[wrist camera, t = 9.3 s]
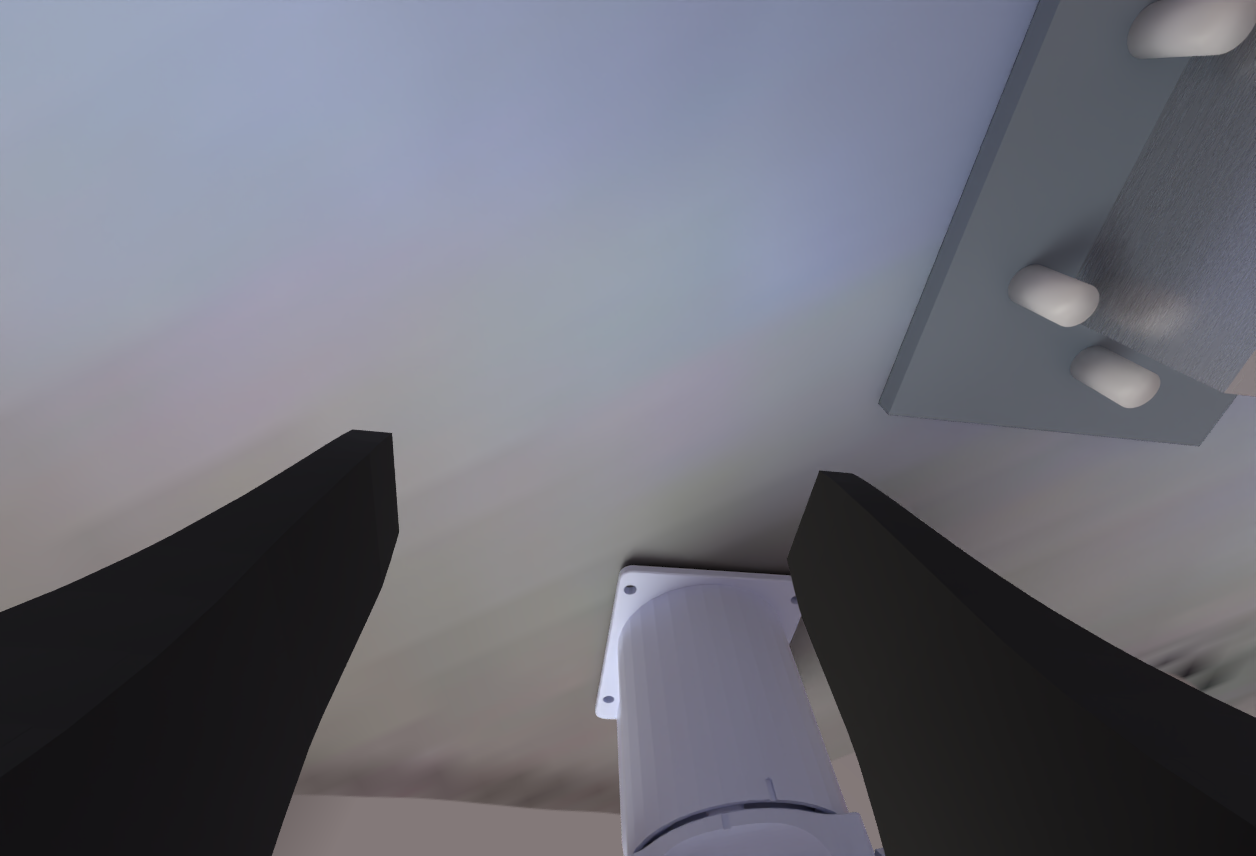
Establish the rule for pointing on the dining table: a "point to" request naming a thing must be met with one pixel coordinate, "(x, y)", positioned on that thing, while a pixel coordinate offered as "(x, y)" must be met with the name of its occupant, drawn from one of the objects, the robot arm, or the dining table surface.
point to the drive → (1188, 231)
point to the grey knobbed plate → (1059, 234)
